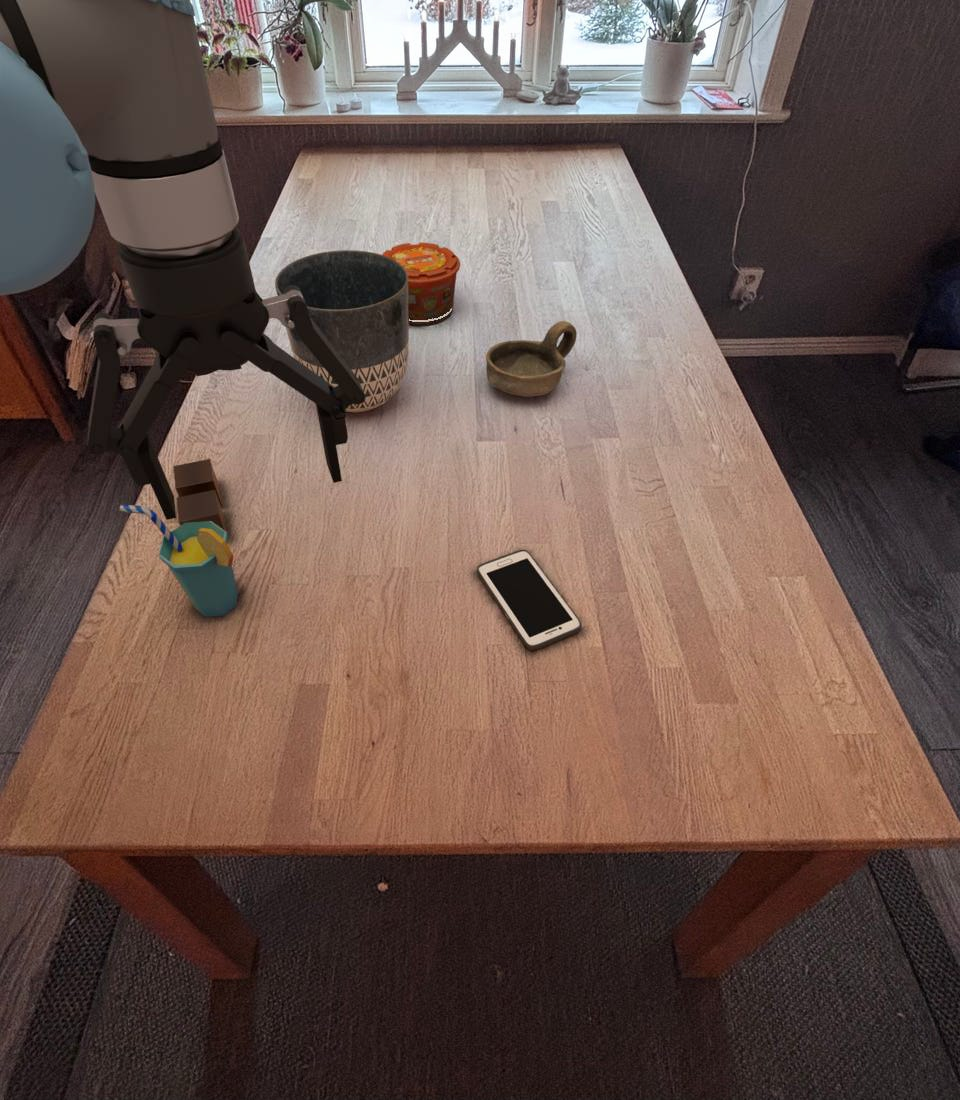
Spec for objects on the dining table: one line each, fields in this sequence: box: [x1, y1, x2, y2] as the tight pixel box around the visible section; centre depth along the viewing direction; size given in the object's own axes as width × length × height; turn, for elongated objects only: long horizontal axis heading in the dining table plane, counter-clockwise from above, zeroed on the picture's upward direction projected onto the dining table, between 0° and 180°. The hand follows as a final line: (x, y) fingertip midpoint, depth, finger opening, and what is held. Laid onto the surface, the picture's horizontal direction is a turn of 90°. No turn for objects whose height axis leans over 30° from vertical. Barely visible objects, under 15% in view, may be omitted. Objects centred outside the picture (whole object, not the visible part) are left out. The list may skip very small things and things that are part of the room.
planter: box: [274, 249, 410, 413], centre depth 108 cm, size 20×20×21 cm
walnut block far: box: [172, 458, 223, 508], centre depth 96 cm, size 5×5×5 cm
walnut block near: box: [175, 490, 228, 533], centre depth 92 cm, size 5×5×5 cm
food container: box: [381, 242, 461, 327], centre depth 134 cm, size 16×16×11 cm
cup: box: [119, 504, 239, 618], centre depth 80 cm, size 14×8×15 cm, turn 75°
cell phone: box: [476, 549, 582, 651], centre depth 86 cm, size 8×15×1 cm, turn 27°
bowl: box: [485, 320, 578, 397], centre depth 117 cm, size 14×18×10 cm
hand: (254, 490), depth 57 cm, fingers open, 13 cm apart
